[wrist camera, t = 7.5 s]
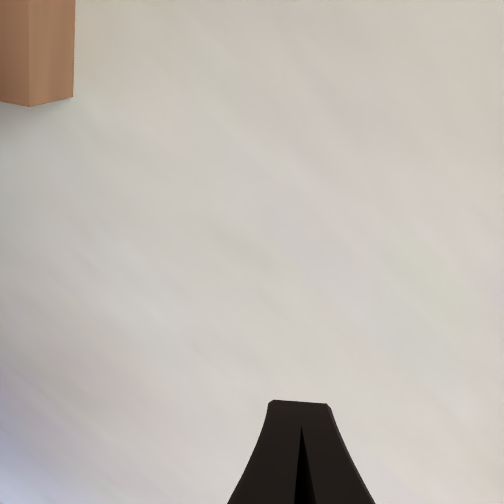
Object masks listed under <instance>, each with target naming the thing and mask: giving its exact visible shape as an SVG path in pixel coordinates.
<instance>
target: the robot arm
mask: <svg viewBox="0 0 504 504" xmlns="http://www.w3.org/2000/svg"><path fill="white" fill-rule="evenodd" d="M227 504H375V502H374V500H373V498H372V497H371V495H370V493H369V491H368V489H367V488H366V486H365V484H364V482H363V480H362V478H361V476H360V474H359V472H358V470H357V469H356V467H355V465H354V463H353V461H352V459H351V457H350V454H349V452H348V450H347V448H346V446H345V444H344V441H343V439H342V437H341V434H340V432H339V430H338V427H337V425H336V422H335V419H334V416H333V414H332V410H331V408H330V407H329V406H328V405H327V404H324V403H310V402H297V401H283V400H272V401H271V402H270V403H268V409H267V414H266V418H265V421H264V424H263V428H262V430H261V433H260V436H259V438H258V441H257V444H256V446H255V448H254V451H253V453H252V455H251V457H250V460H249V462H248V464H247V466H246V468H245V471H244V473H243V475H242V477H241V479H240V480H239V482H238V484H237V486H236V488H235V490H234V492H233V494H232V495H231V497H230V499H229V501H228V503H227Z"/></svg>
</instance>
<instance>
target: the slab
mask: <svg viewBox="0 0 504 504" xmlns="http://www.w3.org/2000/svg"><path fill="white" fill-rule="evenodd" d="M74 34H75V0H0V101H2V102H7V103H12V104H17V105H22V106H27V107H32V106H36V105H40V104H44V103H48V102H53V101H57V100H61V99H65V98H69V97H73V76H74Z"/></svg>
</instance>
